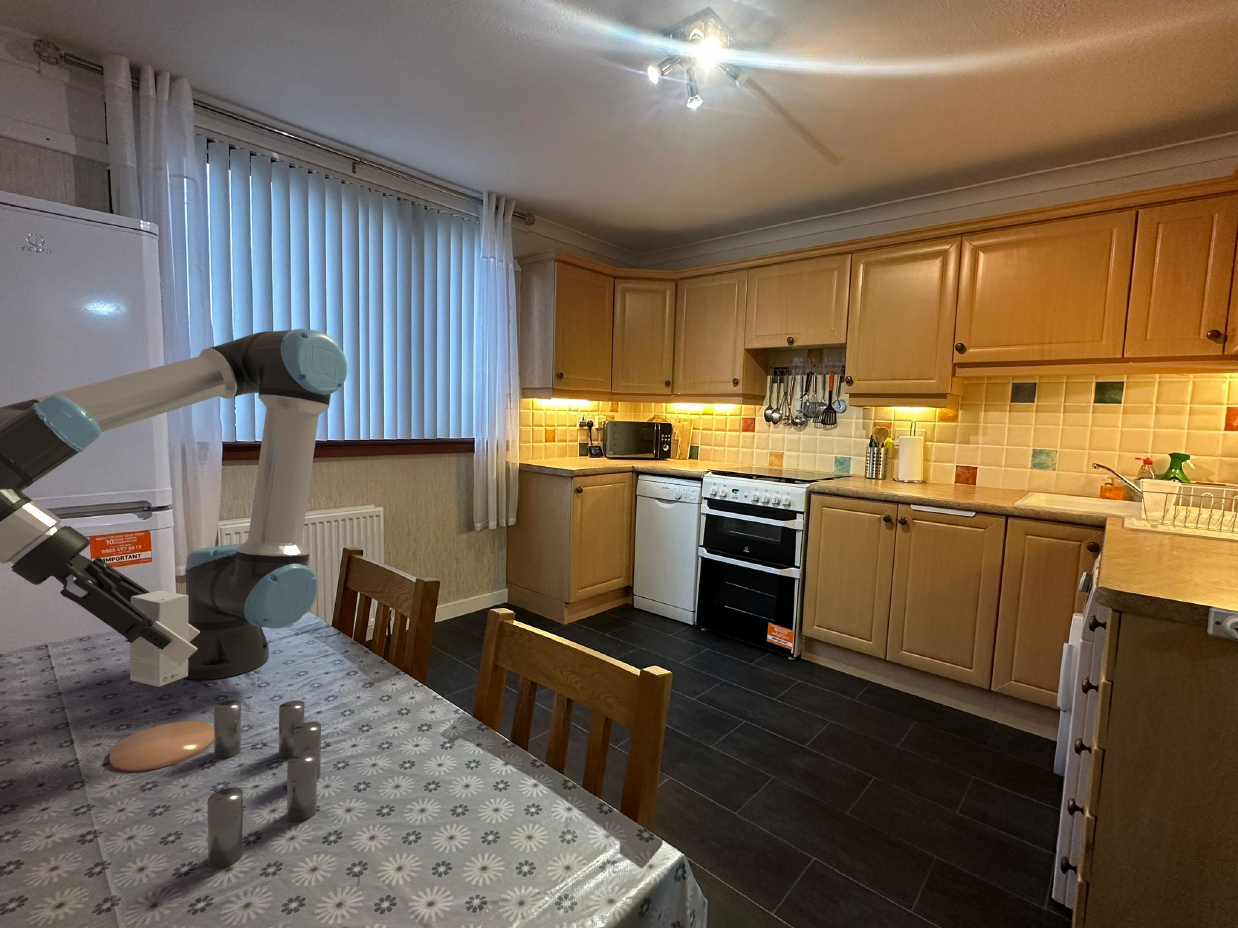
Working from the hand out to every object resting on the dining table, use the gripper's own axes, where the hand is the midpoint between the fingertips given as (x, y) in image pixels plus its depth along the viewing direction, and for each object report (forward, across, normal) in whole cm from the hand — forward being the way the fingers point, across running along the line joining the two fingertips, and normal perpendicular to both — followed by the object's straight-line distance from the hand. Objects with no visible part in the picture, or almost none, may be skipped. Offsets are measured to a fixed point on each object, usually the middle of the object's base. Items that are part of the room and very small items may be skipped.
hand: (190, 647), depth 86 cm
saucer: (+8, 0, -12) cm, 15 cm away
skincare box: (0, 0, -5) cm, 5 cm away
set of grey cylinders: (+15, +17, -5) cm, 23 cm away
